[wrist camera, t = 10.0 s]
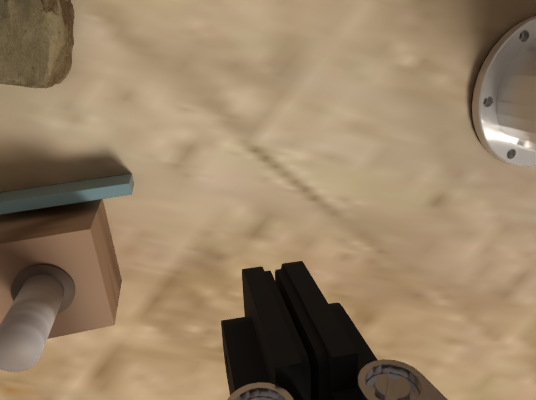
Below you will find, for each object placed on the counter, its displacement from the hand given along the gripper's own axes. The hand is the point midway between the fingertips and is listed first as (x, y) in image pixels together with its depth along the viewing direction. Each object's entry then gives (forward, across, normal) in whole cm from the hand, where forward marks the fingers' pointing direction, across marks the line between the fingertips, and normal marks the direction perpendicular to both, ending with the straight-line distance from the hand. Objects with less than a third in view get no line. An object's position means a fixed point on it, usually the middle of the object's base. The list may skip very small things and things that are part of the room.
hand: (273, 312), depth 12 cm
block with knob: (+22, +11, +7) cm, 26 cm away
